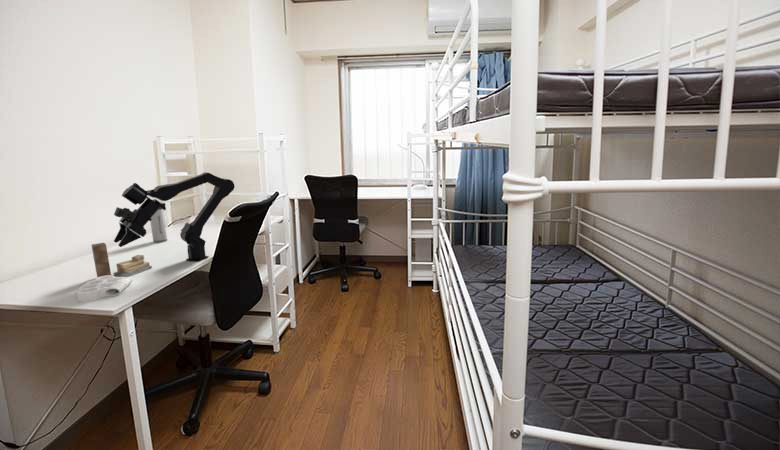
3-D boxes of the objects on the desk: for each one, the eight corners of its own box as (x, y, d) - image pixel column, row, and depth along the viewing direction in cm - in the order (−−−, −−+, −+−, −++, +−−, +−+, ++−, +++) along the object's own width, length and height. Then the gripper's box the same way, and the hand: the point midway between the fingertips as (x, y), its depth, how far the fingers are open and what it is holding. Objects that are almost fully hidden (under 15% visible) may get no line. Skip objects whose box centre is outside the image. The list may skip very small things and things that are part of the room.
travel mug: (156, 240, 213) (150, 201, 209) (169, 239, 214) (164, 201, 210) (150, 243, 207) (144, 203, 203) (164, 242, 208) (158, 203, 204)
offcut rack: (151, 268, 167) (149, 254, 166) (127, 276, 157) (124, 262, 155) (139, 266, 169) (136, 253, 168) (113, 275, 159) (111, 260, 158)
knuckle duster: (116, 299, 136) (65, 304, 132) (136, 281, 153) (91, 285, 149) (115, 290, 135) (63, 294, 132) (134, 272, 152) (89, 276, 149)
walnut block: (109, 275, 159) (104, 242, 156) (111, 277, 156) (105, 244, 154) (97, 277, 157) (91, 244, 154) (98, 280, 154) (92, 246, 151)
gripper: (122, 197, 164) (93, 228, 160) (132, 202, 151) (100, 236, 146) (147, 213, 171) (119, 244, 166) (158, 220, 158) (129, 253, 153)
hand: (117, 244), depth 158 cm, fingers open, 9 cm apart
